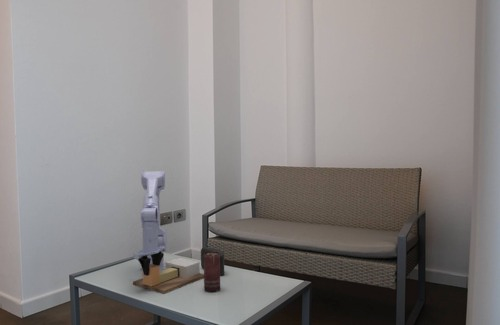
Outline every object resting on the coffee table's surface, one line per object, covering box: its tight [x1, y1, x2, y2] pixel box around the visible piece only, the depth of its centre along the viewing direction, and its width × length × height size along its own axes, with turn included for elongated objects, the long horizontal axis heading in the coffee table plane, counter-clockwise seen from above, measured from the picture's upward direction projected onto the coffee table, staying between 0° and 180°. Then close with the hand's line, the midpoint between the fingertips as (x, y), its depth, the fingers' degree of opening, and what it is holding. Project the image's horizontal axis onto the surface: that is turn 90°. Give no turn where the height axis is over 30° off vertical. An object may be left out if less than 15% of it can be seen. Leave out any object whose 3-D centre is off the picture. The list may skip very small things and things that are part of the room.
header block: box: [164, 257, 201, 279], centre depth 171 cm, size 12×8×5 cm, turn 54°
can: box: [203, 252, 221, 293], centre depth 155 cm, size 6×6×14 cm
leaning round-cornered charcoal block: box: [200, 246, 225, 276], centre depth 178 cm, size 16×5×9 cm, turn 40°
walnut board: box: [132, 272, 204, 294], centre depth 165 cm, size 18×23×1 cm
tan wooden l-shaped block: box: [142, 264, 178, 287], centre depth 162 cm, size 5×14×7 cm, turn 144°
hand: (151, 273), depth 157 cm, fingers closed on tan wooden l-shaped block, 4 cm apart
